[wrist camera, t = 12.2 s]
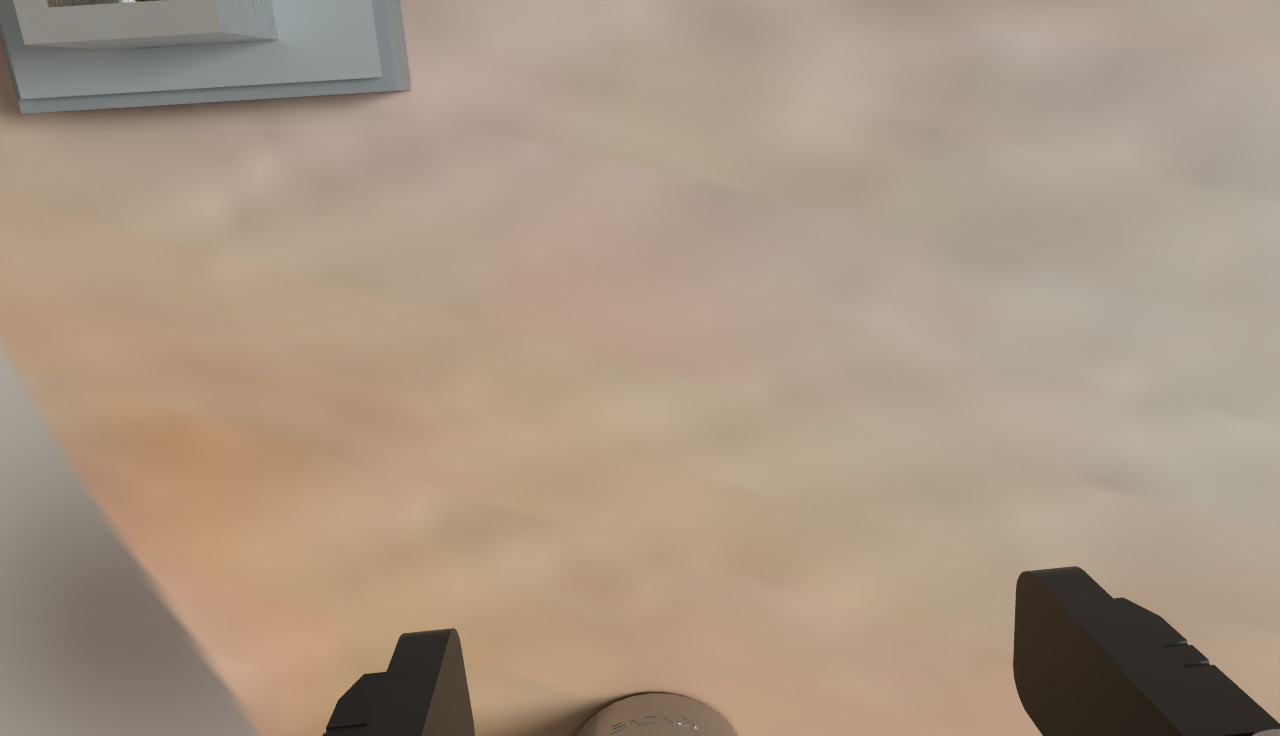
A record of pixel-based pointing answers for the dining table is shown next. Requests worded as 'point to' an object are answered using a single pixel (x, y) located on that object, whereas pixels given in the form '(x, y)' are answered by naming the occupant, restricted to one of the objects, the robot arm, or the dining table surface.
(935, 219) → the dining table surface
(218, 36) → the housing
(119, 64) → the plinth
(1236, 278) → the dining table surface
